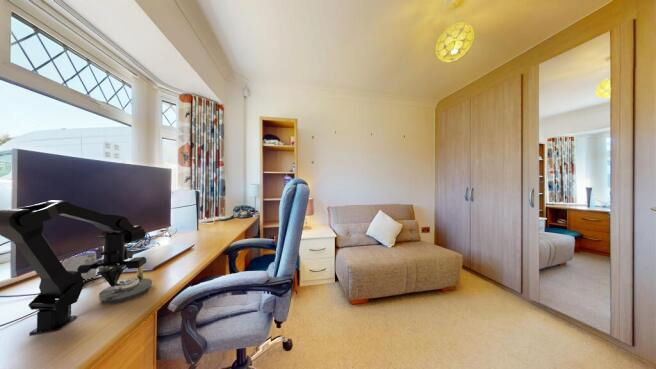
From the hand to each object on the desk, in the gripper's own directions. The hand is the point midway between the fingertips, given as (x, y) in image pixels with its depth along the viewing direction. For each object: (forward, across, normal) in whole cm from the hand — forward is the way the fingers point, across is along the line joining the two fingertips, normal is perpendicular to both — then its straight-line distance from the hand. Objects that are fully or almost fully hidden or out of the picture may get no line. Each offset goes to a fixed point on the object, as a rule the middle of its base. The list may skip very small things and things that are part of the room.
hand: (113, 286), depth 78 cm
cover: (+1, -4, 0) cm, 4 cm away
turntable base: (+4, -4, 0) cm, 6 cm away
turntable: (+3, -4, -1) cm, 5 cm away
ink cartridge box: (+4, +24, -20) cm, 32 cm away
